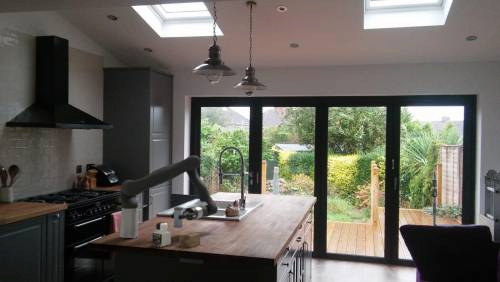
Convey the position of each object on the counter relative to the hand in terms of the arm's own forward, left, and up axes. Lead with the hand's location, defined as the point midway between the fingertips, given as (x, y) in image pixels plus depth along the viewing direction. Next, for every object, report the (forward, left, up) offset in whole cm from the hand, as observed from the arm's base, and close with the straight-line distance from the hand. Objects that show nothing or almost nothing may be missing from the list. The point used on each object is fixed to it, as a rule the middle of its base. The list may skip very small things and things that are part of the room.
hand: (175, 216), depth 238 cm
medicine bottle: (-1, -10, -14) cm, 17 cm away
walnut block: (+12, -2, -14) cm, 18 cm away
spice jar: (0, +3, -6) cm, 7 cm away
